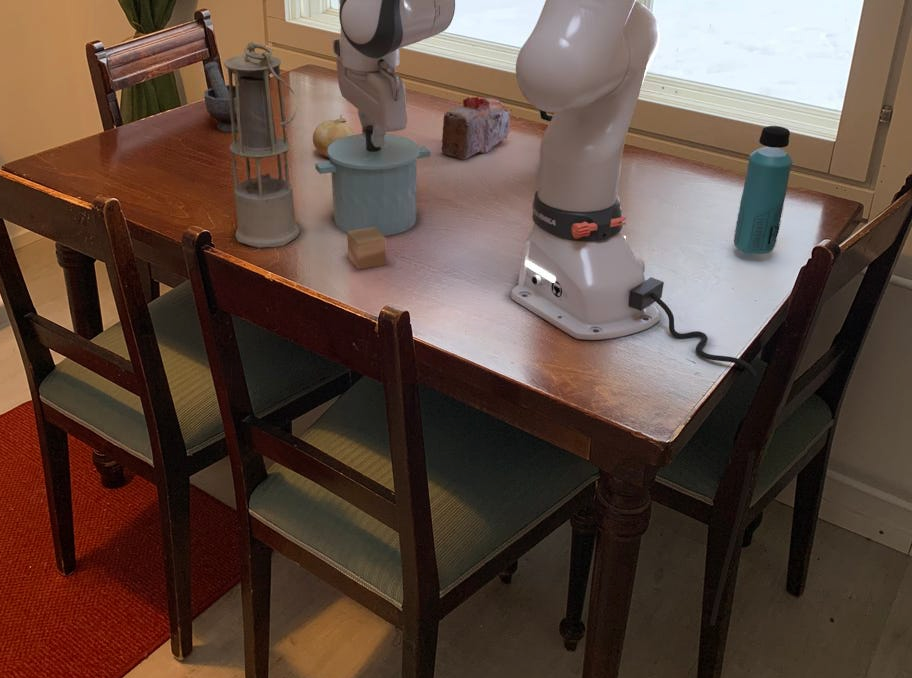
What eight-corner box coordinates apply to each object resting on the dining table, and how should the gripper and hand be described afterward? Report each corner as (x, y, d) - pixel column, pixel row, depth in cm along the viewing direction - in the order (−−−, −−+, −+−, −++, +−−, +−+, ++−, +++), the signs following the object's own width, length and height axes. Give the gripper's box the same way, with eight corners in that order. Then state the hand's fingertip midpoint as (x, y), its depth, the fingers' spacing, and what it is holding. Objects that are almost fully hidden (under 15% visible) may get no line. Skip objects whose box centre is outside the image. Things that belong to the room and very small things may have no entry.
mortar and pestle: (265, 126, 204) (259, 66, 197) (227, 137, 199) (220, 76, 192) (232, 113, 211) (225, 55, 204) (194, 124, 205) (186, 64, 198)
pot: (444, 225, 165) (445, 158, 159) (335, 245, 159) (331, 176, 152) (411, 195, 176) (411, 131, 169) (308, 213, 169) (303, 147, 162)
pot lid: (434, 164, 158) (434, 135, 155) (346, 179, 153) (345, 149, 150) (398, 135, 169) (397, 107, 166) (315, 147, 164) (313, 119, 161)
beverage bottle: (766, 267, 153) (793, 139, 142) (724, 257, 156) (747, 131, 145) (778, 251, 158) (806, 126, 147) (737, 241, 161) (761, 118, 149)
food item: (479, 134, 201) (480, 85, 195) (512, 143, 197) (514, 93, 191) (437, 153, 192) (437, 102, 187) (470, 163, 188) (472, 111, 183)
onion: (339, 165, 187) (337, 127, 183) (305, 156, 191) (302, 119, 187) (363, 152, 193) (362, 115, 189) (330, 144, 196) (328, 108, 192)
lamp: (273, 215, 168) (257, 29, 151) (323, 239, 161) (311, 47, 144) (222, 233, 162) (199, 42, 145) (271, 259, 155) (252, 61, 138)
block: (386, 264, 154) (385, 237, 151) (358, 270, 152) (357, 242, 149) (375, 252, 157) (374, 226, 154) (348, 258, 155) (346, 231, 153)
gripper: (417, 68, 145) (417, 160, 153) (365, 34, 160) (368, 119, 168) (376, 73, 143) (379, 166, 151) (328, 38, 158) (333, 124, 166)
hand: (373, 141), depth 160 cm, fingers closed on pot lid, 2 cm apart
